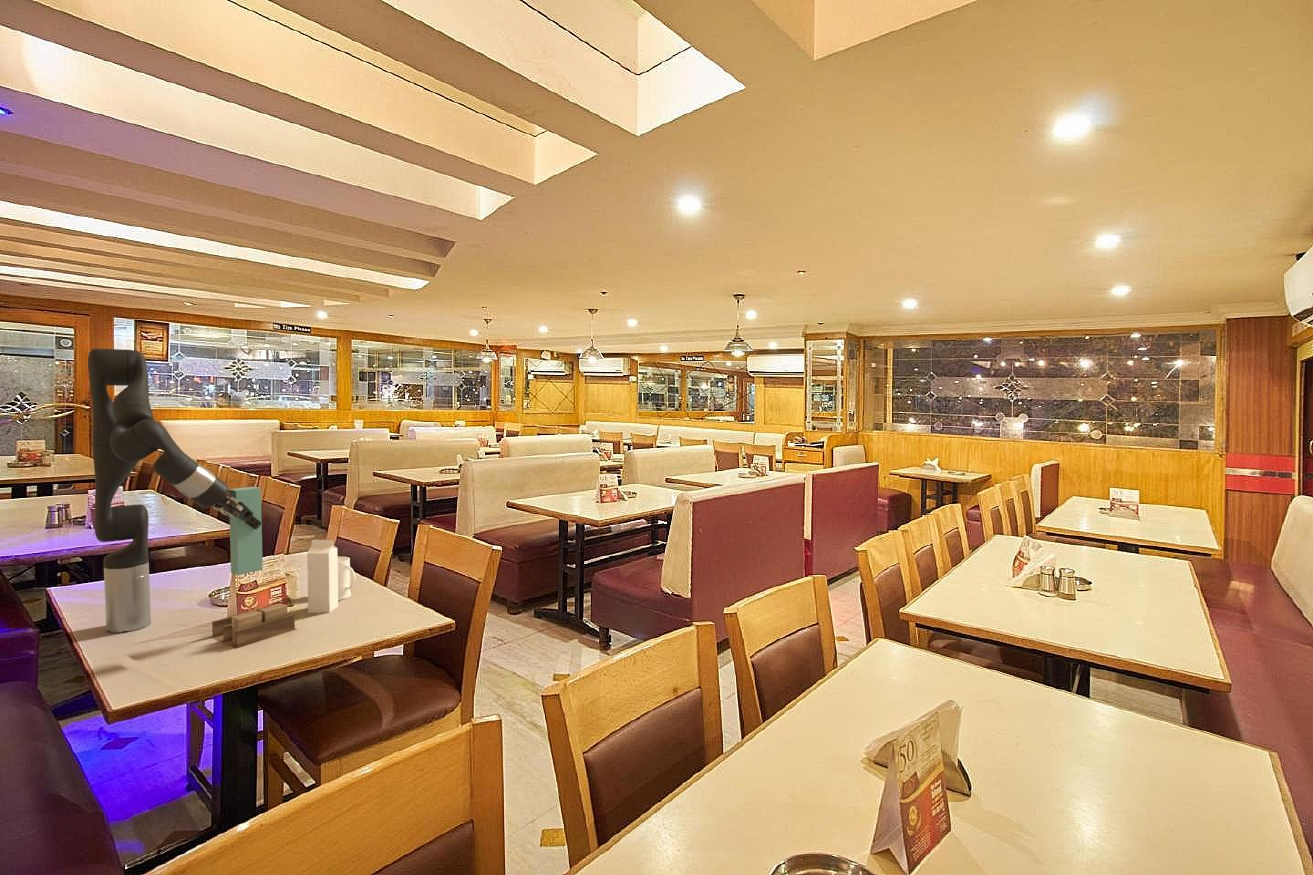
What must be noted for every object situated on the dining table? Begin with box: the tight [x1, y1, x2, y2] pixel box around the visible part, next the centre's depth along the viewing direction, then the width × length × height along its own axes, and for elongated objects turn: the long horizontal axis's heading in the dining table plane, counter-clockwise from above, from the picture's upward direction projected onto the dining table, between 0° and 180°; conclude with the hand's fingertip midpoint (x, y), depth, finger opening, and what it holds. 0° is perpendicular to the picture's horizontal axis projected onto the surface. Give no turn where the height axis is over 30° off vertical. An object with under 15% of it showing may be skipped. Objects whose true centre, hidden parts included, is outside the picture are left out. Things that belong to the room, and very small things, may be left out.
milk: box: [306, 539, 339, 614], centre depth 179 cm, size 6×6×22 cm
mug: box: [338, 556, 357, 602], centre depth 193 cm, size 12×8×12 cm
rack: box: [210, 605, 298, 650], centre depth 161 cm, size 13×15×6 cm
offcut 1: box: [232, 609, 262, 643], centre depth 156 cm, size 3×6×6 cm, turn 150°
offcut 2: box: [258, 603, 288, 623], centre depth 162 cm, size 3×6×6 cm, turn 150°
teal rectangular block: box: [228, 486, 264, 576], centre depth 160 cm, size 4×6×22 cm, turn 150°
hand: (253, 525), depth 162 cm, fingers closed on teal rectangular block, 3 cm apart
